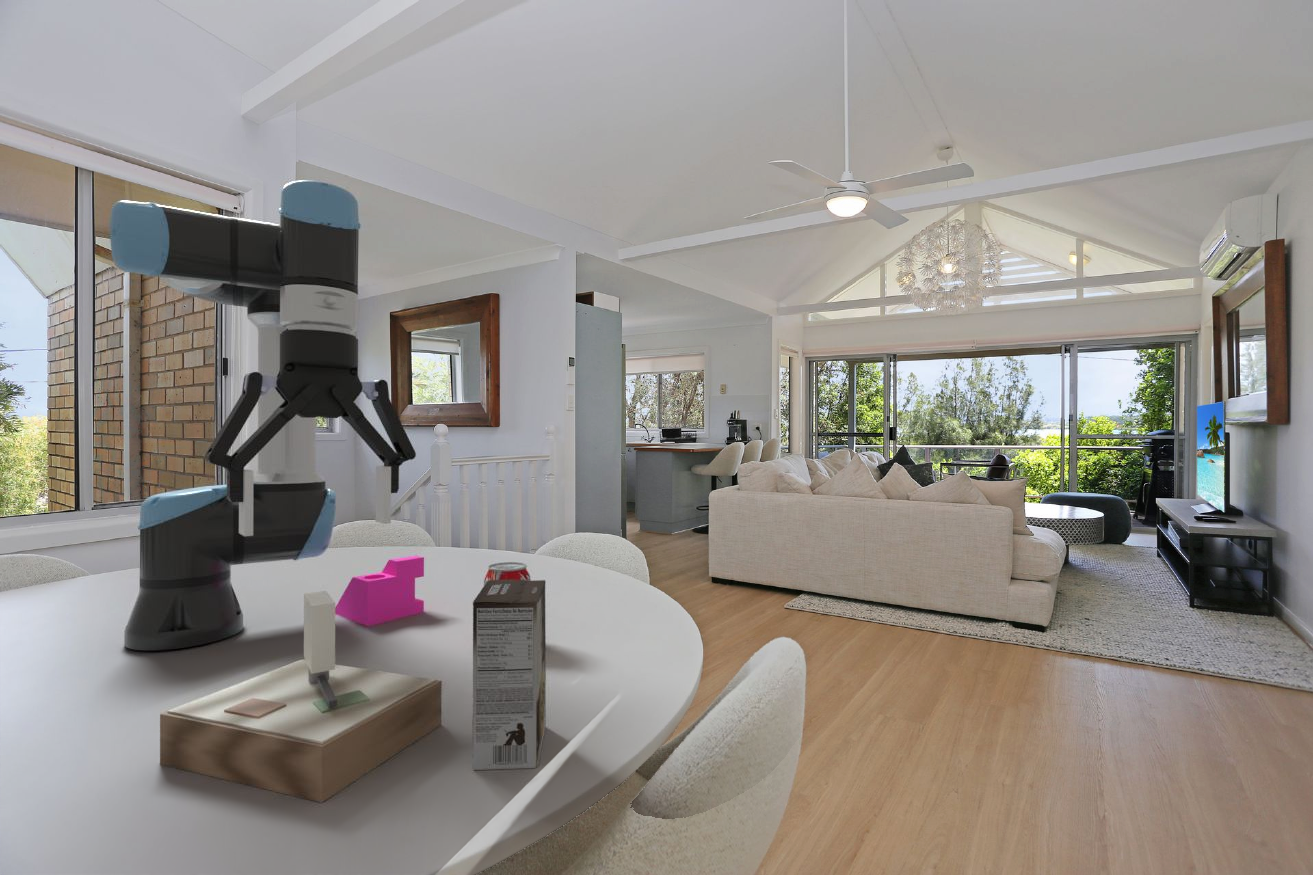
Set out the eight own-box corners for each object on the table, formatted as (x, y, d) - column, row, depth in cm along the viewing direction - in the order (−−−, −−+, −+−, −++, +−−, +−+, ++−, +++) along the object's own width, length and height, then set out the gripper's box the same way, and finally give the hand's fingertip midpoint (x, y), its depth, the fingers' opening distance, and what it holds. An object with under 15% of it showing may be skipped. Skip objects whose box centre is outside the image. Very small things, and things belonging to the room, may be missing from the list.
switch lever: (320, 712, 61) (320, 620, 61) (303, 672, 71) (304, 593, 71) (345, 707, 62) (345, 616, 62) (325, 668, 73) (326, 590, 73)
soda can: (519, 653, 93) (519, 571, 93) (474, 650, 95) (474, 569, 95) (537, 639, 100) (538, 562, 100) (495, 636, 102) (496, 560, 102)
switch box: (159, 763, 62) (160, 709, 62) (301, 699, 77) (301, 656, 77) (321, 802, 55) (322, 741, 55) (441, 724, 70) (441, 676, 70)
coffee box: (486, 728, 69) (487, 578, 69) (547, 726, 70) (547, 577, 70) (469, 772, 60) (470, 600, 60) (539, 769, 61) (539, 598, 61)
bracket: (423, 614, 114) (424, 557, 114) (367, 628, 106) (367, 566, 106) (388, 603, 122) (389, 549, 122) (333, 615, 114) (333, 557, 114)
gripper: (182, 312, 58) (182, 545, 58) (445, 340, 75) (444, 521, 76) (171, 321, 64) (171, 535, 64) (419, 346, 81) (417, 514, 81)
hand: (319, 528), depth 70 cm, fingers open, 13 cm apart
